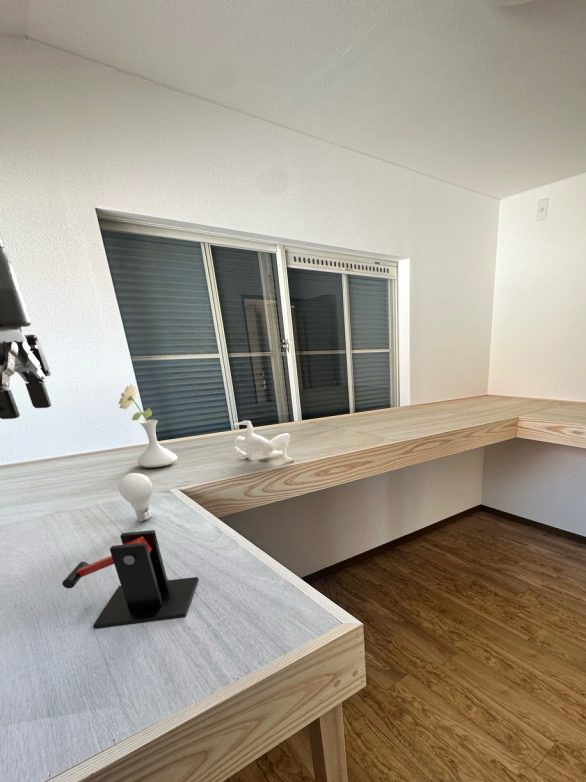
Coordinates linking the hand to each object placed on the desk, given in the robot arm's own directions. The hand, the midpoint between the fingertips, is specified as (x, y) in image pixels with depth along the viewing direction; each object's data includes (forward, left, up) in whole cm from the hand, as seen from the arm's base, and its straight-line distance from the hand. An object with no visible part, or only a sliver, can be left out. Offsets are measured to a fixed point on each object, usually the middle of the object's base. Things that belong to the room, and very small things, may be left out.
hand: (27, 412), depth 60 cm
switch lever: (+10, -12, -21) cm, 26 cm away
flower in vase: (-6, +67, -28) cm, 73 cm away
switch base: (+14, -12, -28) cm, 34 cm away
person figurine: (+27, +66, -28) cm, 77 cm away
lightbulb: (+3, +23, -28) cm, 37 cm away
